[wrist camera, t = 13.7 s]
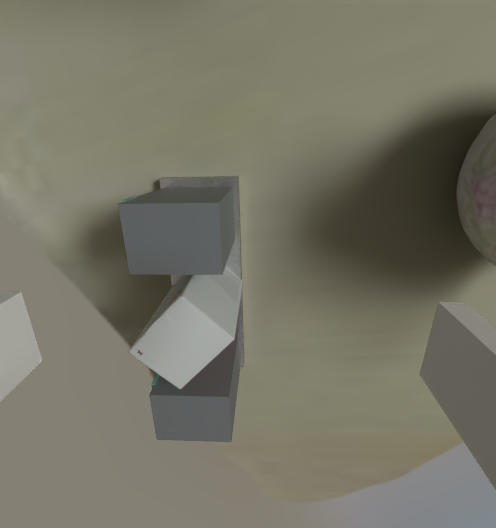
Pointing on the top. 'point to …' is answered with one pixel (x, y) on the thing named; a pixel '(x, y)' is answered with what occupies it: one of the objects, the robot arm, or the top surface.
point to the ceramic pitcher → (480, 192)
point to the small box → (190, 326)
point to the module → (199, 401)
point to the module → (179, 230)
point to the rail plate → (235, 253)
